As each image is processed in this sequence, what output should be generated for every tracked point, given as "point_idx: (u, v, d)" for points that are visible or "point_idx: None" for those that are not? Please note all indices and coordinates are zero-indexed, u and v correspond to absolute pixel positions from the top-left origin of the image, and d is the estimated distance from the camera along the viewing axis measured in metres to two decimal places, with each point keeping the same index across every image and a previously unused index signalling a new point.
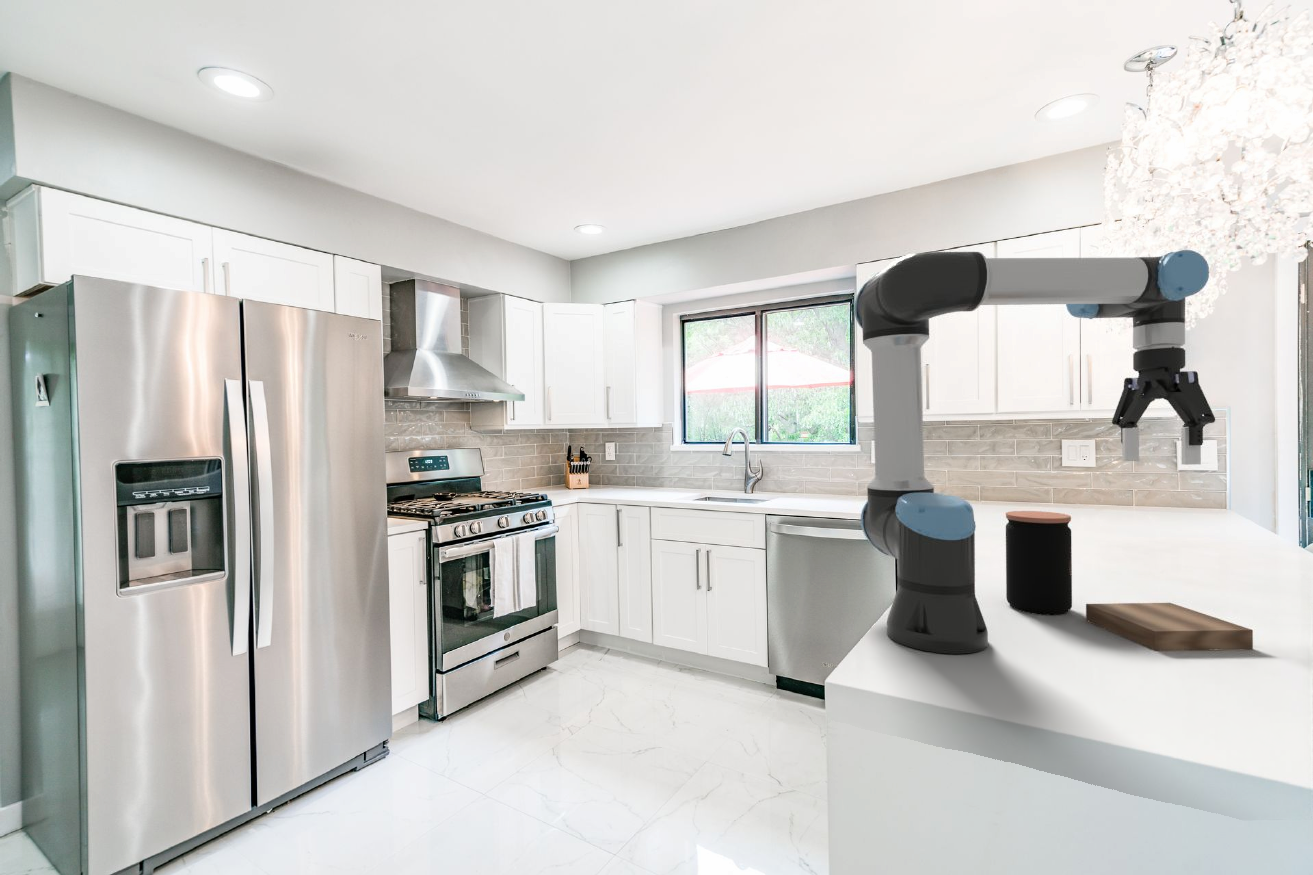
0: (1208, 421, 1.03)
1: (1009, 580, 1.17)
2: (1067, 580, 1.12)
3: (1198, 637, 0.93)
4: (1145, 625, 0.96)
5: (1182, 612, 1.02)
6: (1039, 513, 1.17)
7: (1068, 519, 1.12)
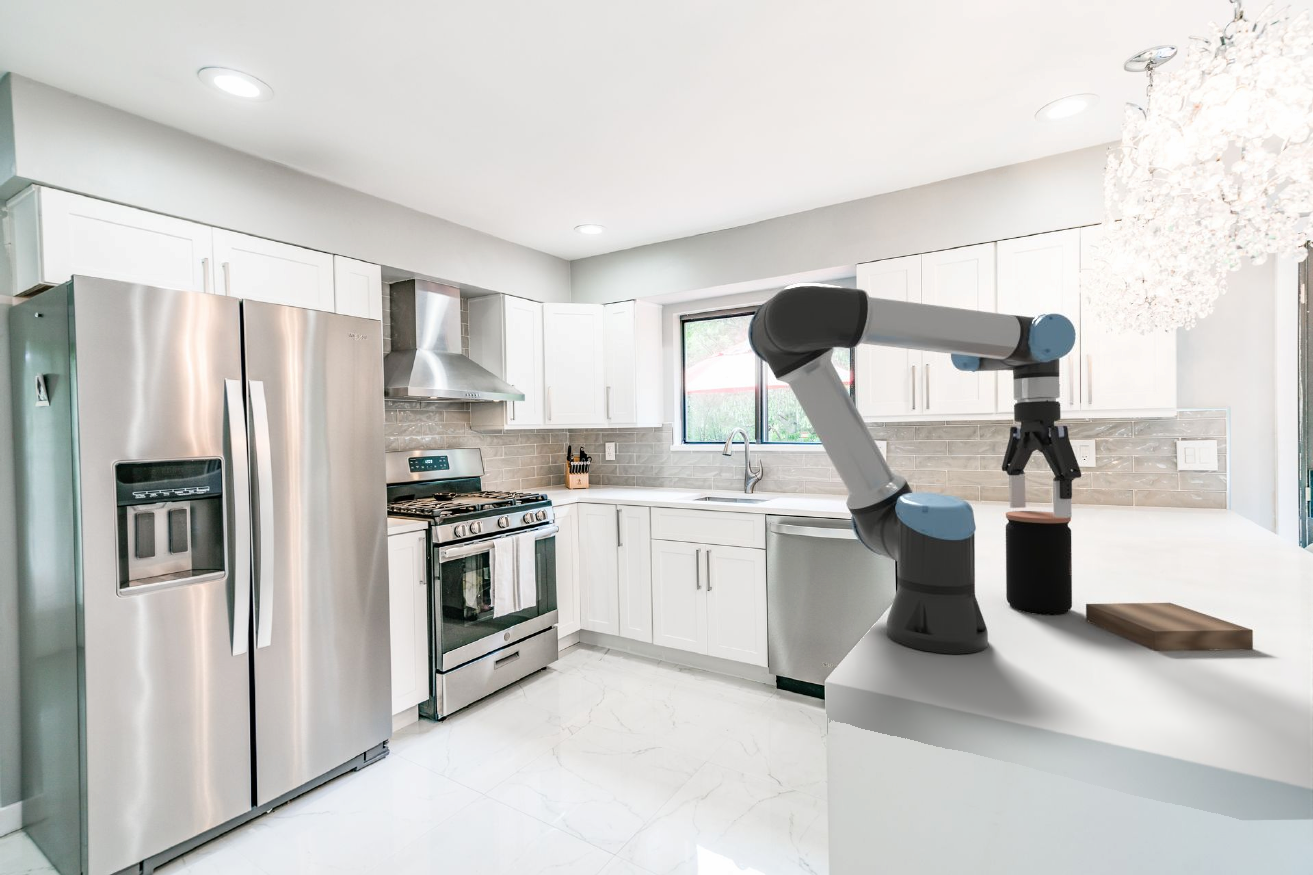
0: (1075, 476, 1.06)
1: (1009, 580, 1.17)
2: (1067, 580, 1.12)
3: (1198, 637, 0.93)
4: (1145, 625, 0.96)
5: (1182, 612, 1.02)
6: (1039, 513, 1.17)
7: (1068, 519, 1.12)
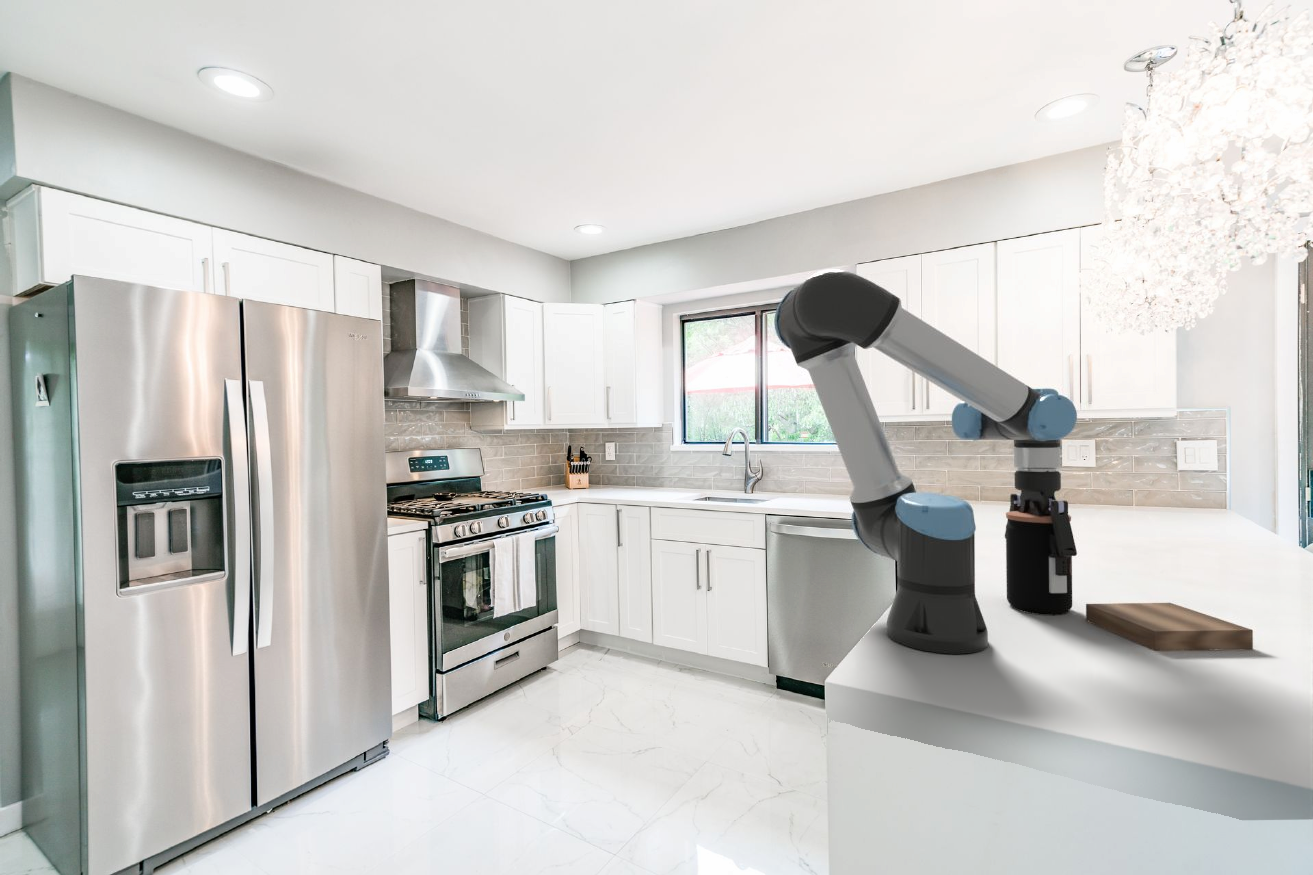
0: (1070, 555, 1.07)
1: (1009, 580, 1.17)
2: (1067, 580, 1.12)
3: (1198, 637, 0.93)
4: (1145, 625, 0.96)
5: (1182, 612, 1.02)
6: None
7: None
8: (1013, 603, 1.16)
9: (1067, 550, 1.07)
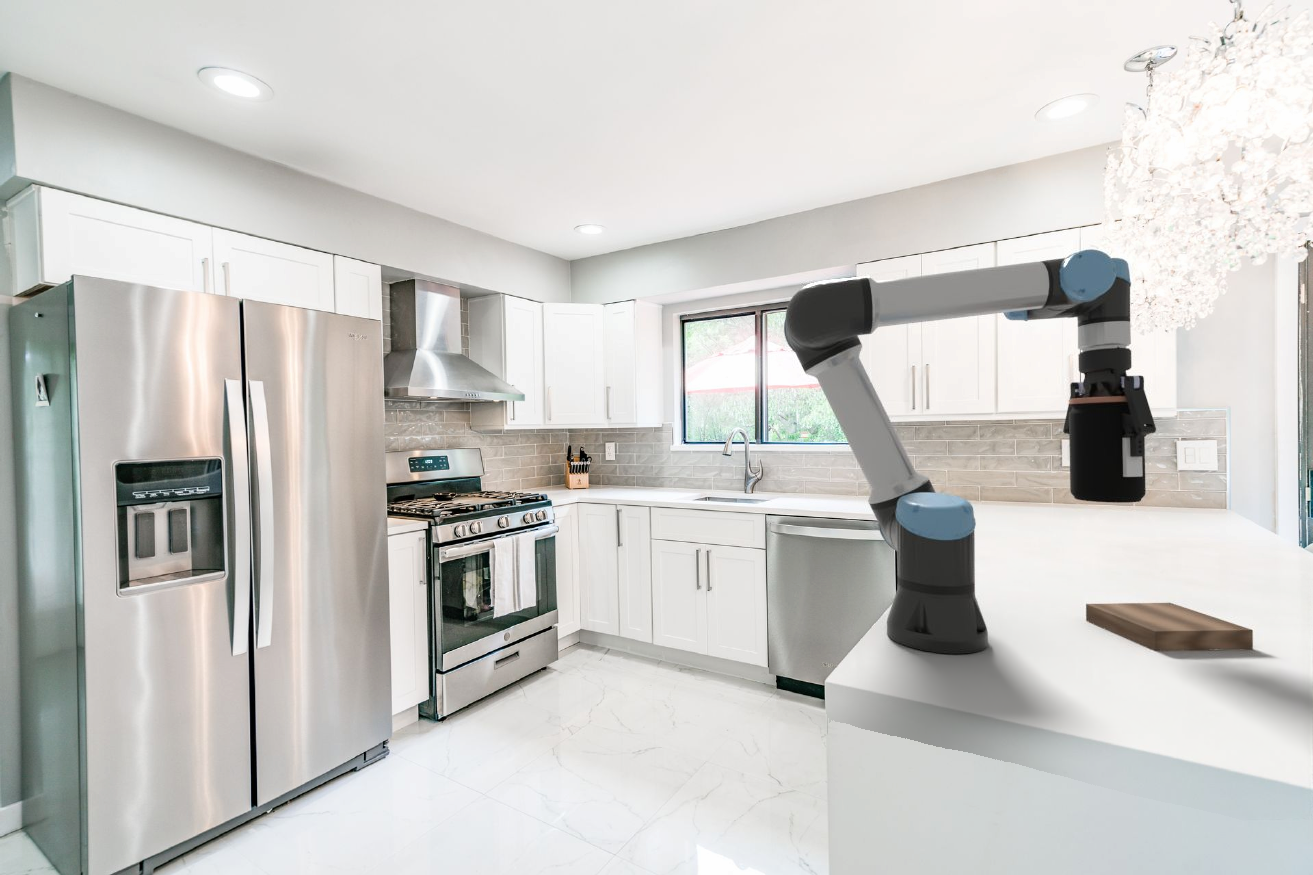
0: (1148, 432, 0.98)
1: (1075, 469, 1.07)
2: None
3: (1198, 637, 0.93)
4: (1145, 625, 0.96)
5: (1182, 612, 1.02)
6: None
7: None
8: (1080, 494, 1.06)
9: (1145, 426, 0.98)
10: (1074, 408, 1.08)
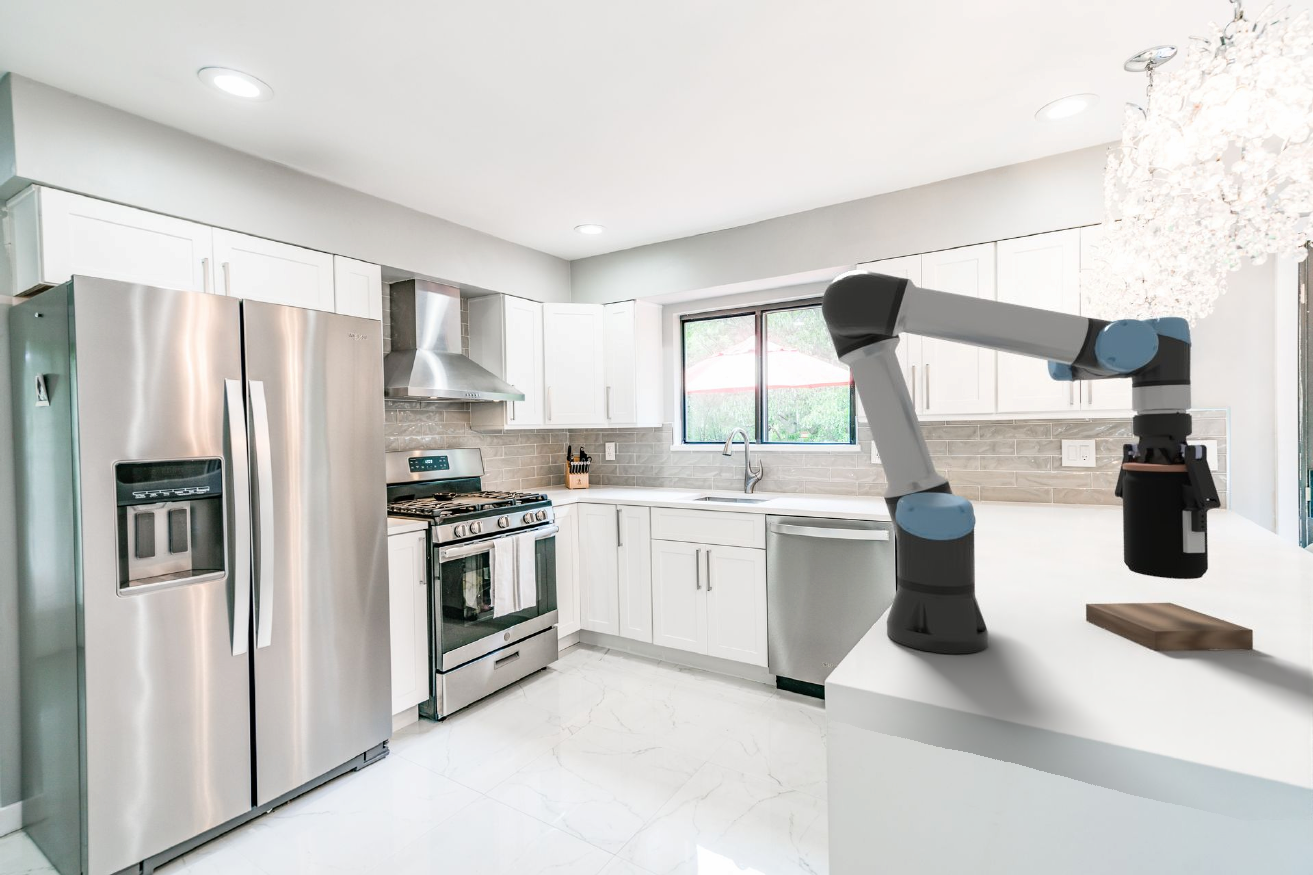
0: (1212, 507, 0.92)
1: (1130, 540, 1.01)
2: None
3: (1198, 637, 0.93)
4: (1145, 625, 0.96)
5: (1182, 612, 1.02)
6: None
7: None
8: (1136, 567, 1.00)
9: (1209, 501, 0.92)
10: (1129, 474, 1.02)
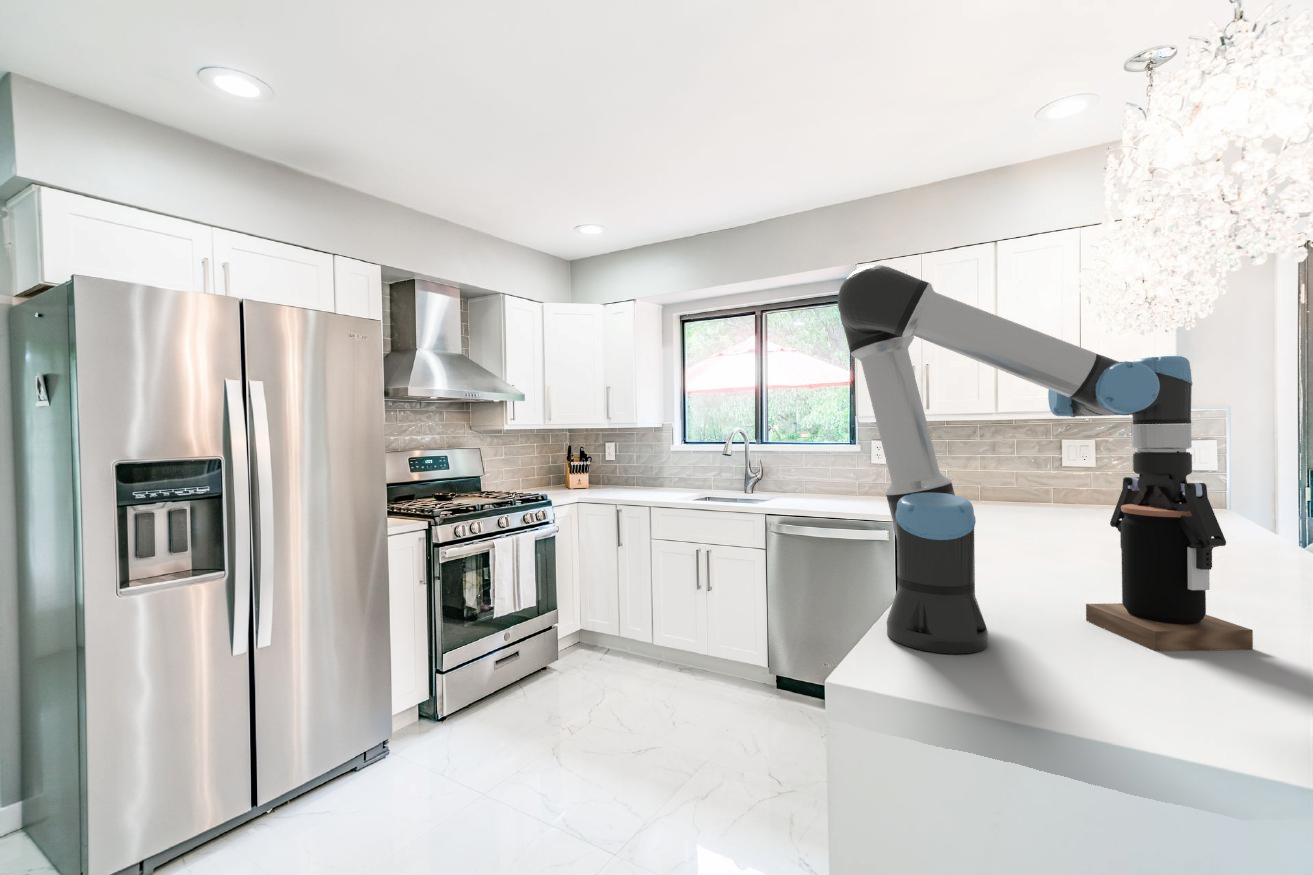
0: (1218, 545, 0.91)
1: (1128, 583, 1.01)
2: None
3: (1198, 637, 0.93)
4: (1145, 625, 0.96)
5: None
6: None
7: None
8: (1134, 610, 1.00)
9: (1214, 539, 0.91)
10: (1127, 517, 1.02)
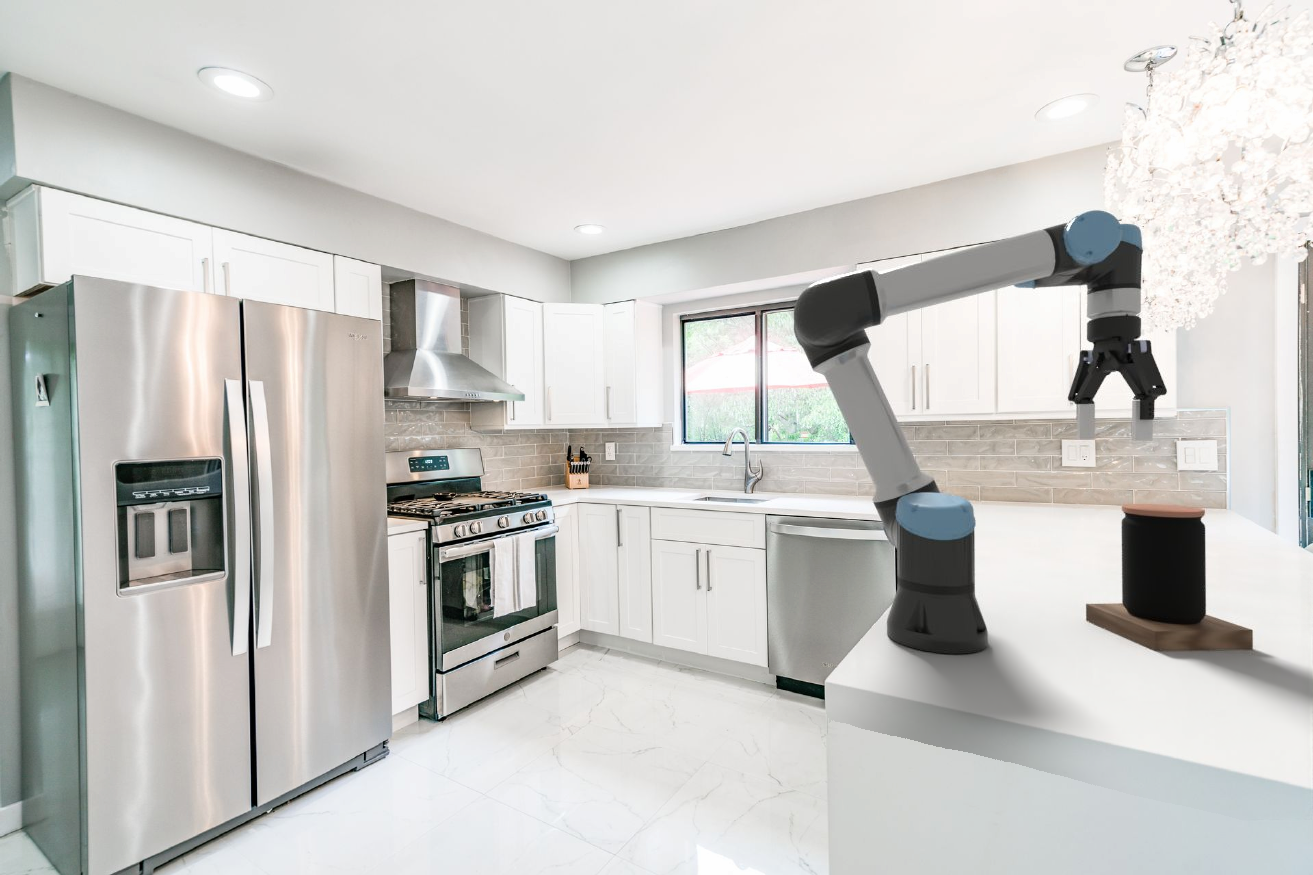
0: (1159, 393, 0.96)
1: (1129, 583, 1.01)
2: (1202, 584, 0.96)
3: (1198, 637, 0.93)
4: (1145, 625, 0.96)
5: None
6: (1162, 506, 1.02)
7: (1203, 513, 0.96)
8: (1134, 610, 1.00)
9: (1155, 388, 0.96)
10: (1128, 517, 1.02)
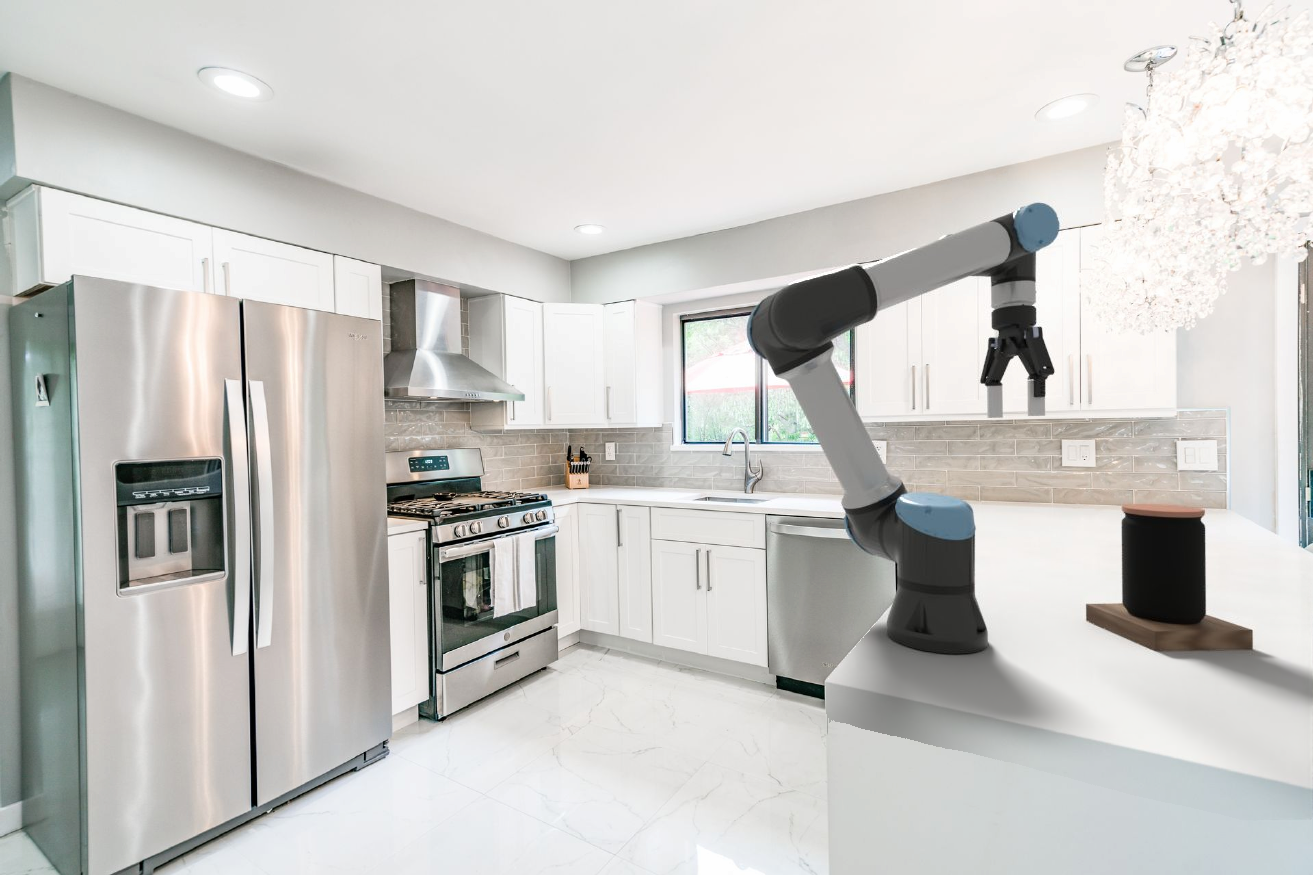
0: (1048, 373, 1.08)
1: (1129, 583, 1.01)
2: (1202, 584, 0.96)
3: (1198, 637, 0.93)
4: (1145, 625, 0.96)
5: None
6: (1162, 506, 1.02)
7: (1203, 513, 0.96)
8: (1134, 610, 1.00)
9: (1045, 368, 1.08)
10: (1128, 517, 1.02)
